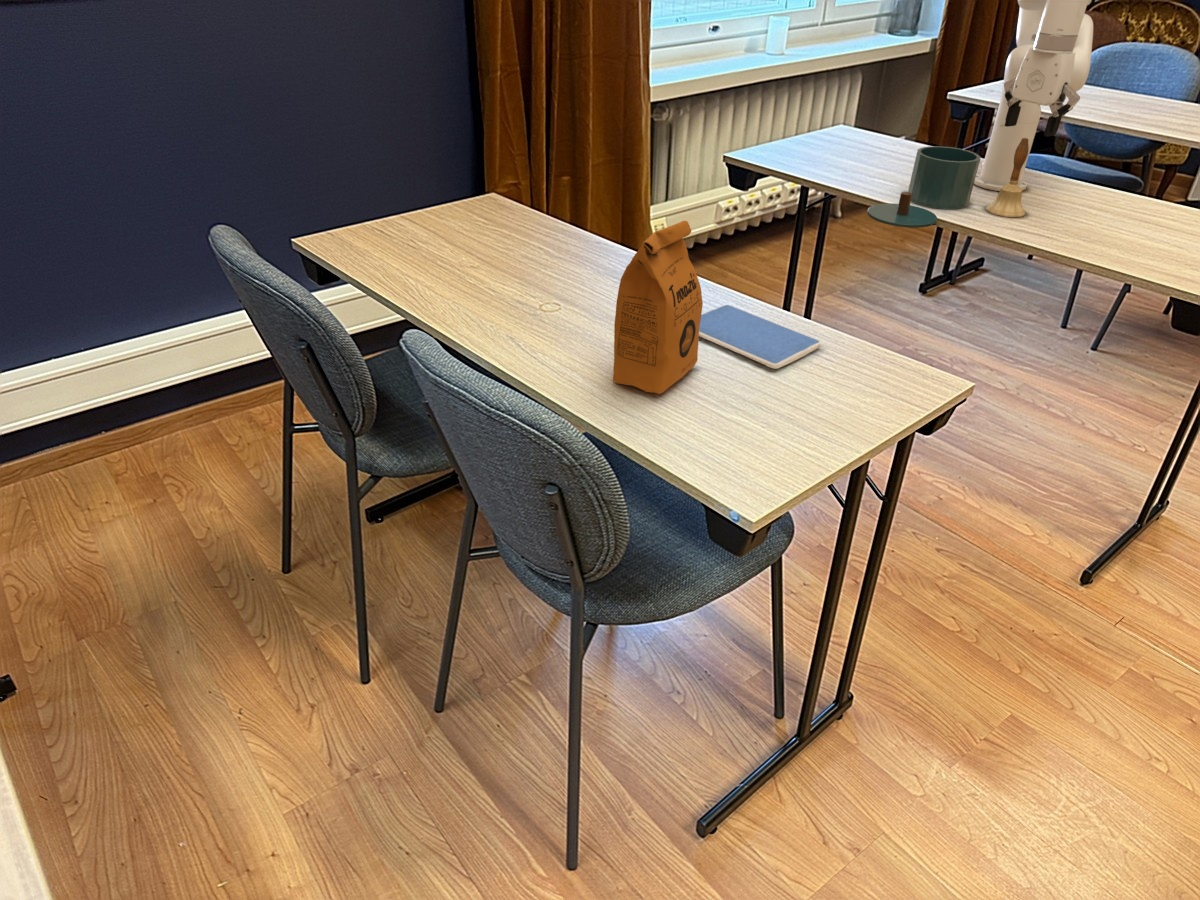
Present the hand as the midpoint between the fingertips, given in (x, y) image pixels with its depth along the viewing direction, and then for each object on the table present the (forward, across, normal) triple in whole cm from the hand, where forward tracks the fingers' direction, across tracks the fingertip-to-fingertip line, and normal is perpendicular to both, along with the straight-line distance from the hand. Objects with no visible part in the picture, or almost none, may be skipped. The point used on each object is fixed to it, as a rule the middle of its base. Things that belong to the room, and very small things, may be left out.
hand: (1029, 130), depth 185 cm
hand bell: (+18, 0, 0) cm, 18 cm away
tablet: (+19, +24, -94) cm, 99 cm away
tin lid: (+17, -7, -26) cm, 32 cm away
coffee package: (+19, +27, -114) cm, 119 cm away
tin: (+18, -13, -7) cm, 23 cm away
